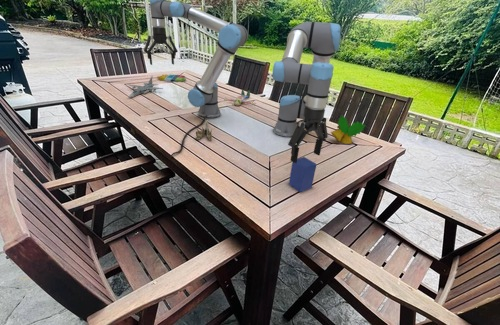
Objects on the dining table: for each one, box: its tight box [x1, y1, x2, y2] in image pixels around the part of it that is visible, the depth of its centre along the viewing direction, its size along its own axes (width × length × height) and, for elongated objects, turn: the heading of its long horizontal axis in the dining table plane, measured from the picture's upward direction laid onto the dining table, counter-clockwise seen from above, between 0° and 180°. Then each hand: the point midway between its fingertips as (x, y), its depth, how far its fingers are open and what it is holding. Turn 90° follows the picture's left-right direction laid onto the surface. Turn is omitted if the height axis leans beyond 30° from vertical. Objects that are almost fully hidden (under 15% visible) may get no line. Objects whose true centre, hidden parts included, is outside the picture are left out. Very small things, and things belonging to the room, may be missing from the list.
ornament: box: [330, 114, 367, 145], centre depth 158 cm, size 21×8×15 cm, turn 105°
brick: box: [288, 156, 317, 193], centre depth 111 cm, size 7×7×12 cm
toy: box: [223, 89, 257, 106], centre depth 219 cm, size 28×7×30 cm
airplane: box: [127, 75, 164, 99], centre depth 224 cm, size 38×31×10 cm
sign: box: [156, 74, 187, 83], centre depth 278 cm, size 26×2×30 cm
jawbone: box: [195, 119, 213, 141], centre depth 151 cm, size 9×15×10 cm
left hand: (162, 64), depth 167 cm, fingers open, 13 cm apart
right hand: (305, 157), depth 107 cm, fingers open, 13 cm apart
